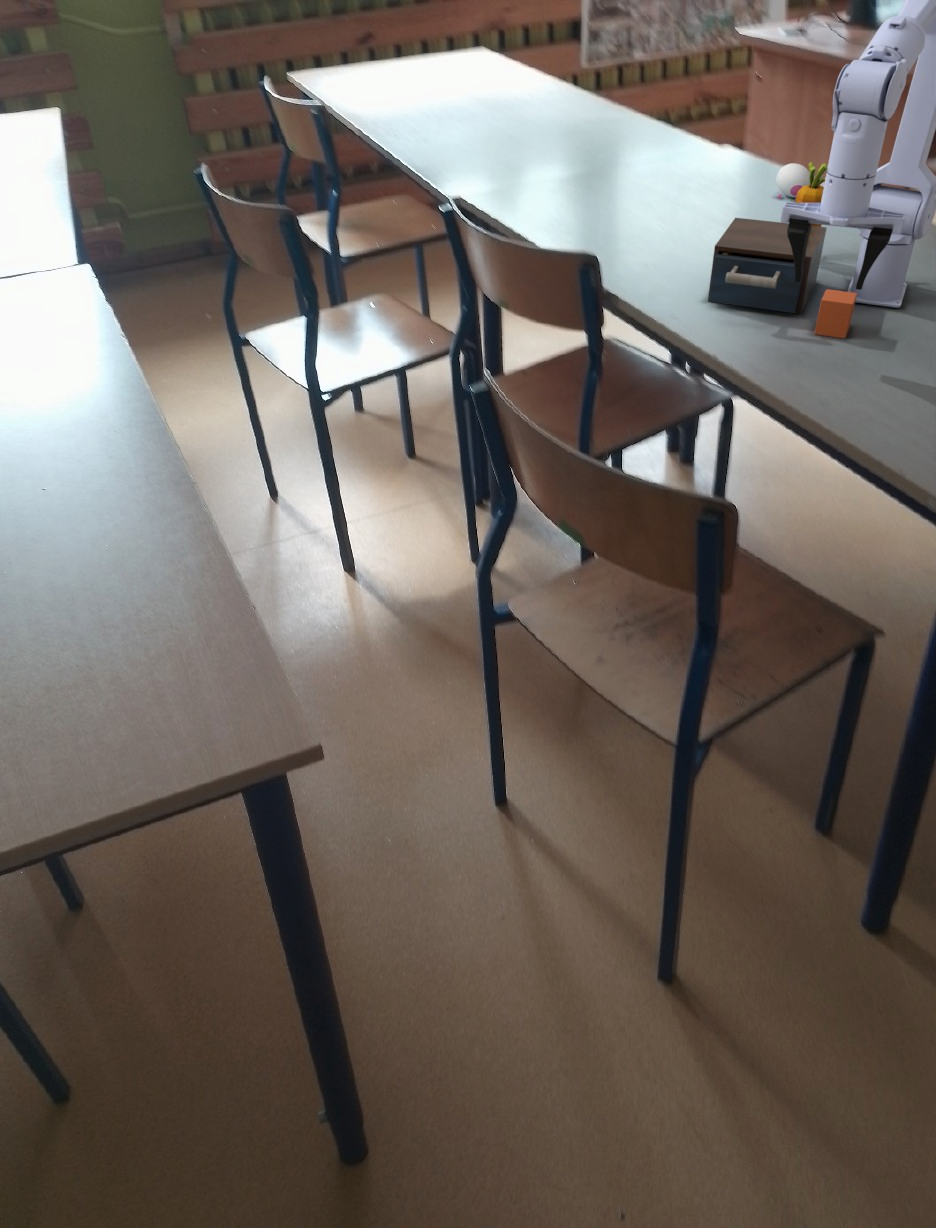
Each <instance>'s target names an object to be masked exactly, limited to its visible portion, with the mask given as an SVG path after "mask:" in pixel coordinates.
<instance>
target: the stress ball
mask: <svg viewBox="0 0 936 1228" xmlns="http://www.w3.org/2000/svg"><path fill="white" fill-rule="evenodd" d="M809 173H810V171H809V169H808V168H806V167H805V166H804V165H802V164H799V163H794V162H793V163H792V162H791V163H788V164H785V165H783V166H782V167H781V168H780V169H779V171H778V172H777V174H776V185H777V188H778V190H779V191H780V194H779V195H777V198H778V199H781V196H782V194H783V195H784V196H786V197H788V198H794V199H796V196H797V193H798V191H799V190H800V189H801V188H802V187H803V186H805V185H810V179H809Z"/></svg>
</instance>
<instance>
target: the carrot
mask: <svg viewBox="0 0 936 1228" xmlns="http://www.w3.org/2000/svg"><path fill="white" fill-rule="evenodd" d="M827 168H828V164H826V163H822V164H821V166H820V167H819V168H818V170H817V172H816V167H815V166H814V162H813V161H810V162H809V163H808V171H809V179H810V185H805V186H803V187H802V188H801V189H800V190H799V191H798V193H797V196H796V198H795V202H794V203H821V200H822V194H823V189H824V185H822V184H823V183H825V179H826V177H822V176H823V174H824V173H825V172H827ZM815 172H816V173H815ZM812 226H818V227H822V225H821V224H812Z"/></svg>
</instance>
